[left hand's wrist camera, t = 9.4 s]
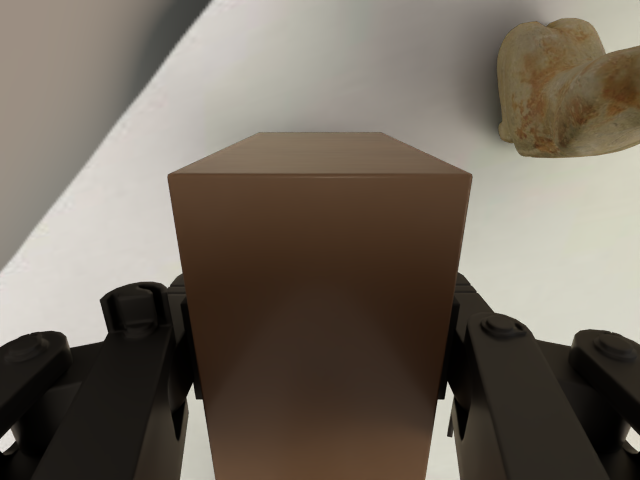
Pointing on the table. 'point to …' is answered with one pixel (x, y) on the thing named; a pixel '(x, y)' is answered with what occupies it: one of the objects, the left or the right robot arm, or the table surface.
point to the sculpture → (567, 91)
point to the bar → (320, 301)
